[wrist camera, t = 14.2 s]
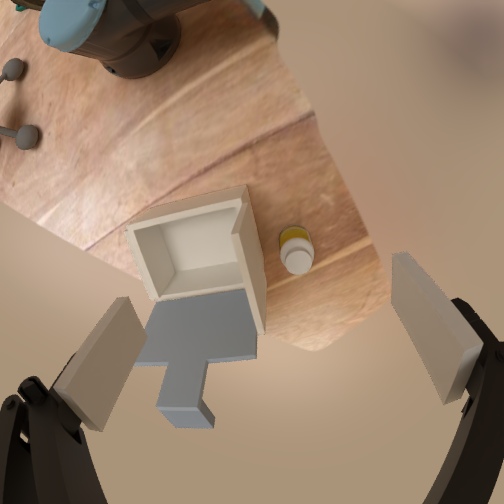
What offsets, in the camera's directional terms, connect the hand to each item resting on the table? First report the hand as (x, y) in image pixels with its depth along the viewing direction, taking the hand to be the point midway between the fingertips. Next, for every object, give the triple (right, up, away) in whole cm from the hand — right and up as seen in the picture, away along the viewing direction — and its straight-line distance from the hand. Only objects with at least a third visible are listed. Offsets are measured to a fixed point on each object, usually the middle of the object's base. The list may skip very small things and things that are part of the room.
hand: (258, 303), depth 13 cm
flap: (-8, -9, +22) cm, 25 cm away
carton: (-8, +6, +38) cm, 39 cm away
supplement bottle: (+7, +5, +38) cm, 39 cm away
